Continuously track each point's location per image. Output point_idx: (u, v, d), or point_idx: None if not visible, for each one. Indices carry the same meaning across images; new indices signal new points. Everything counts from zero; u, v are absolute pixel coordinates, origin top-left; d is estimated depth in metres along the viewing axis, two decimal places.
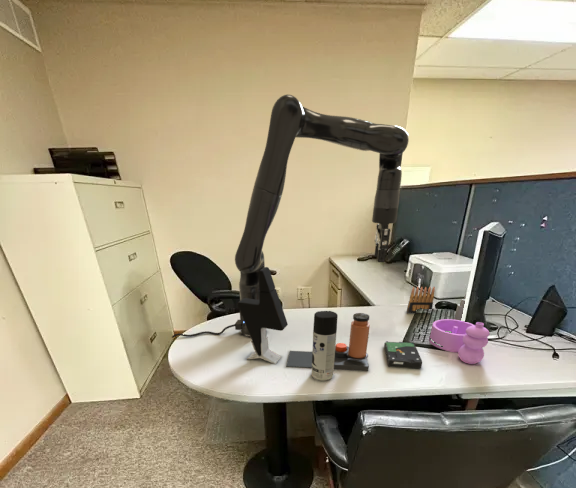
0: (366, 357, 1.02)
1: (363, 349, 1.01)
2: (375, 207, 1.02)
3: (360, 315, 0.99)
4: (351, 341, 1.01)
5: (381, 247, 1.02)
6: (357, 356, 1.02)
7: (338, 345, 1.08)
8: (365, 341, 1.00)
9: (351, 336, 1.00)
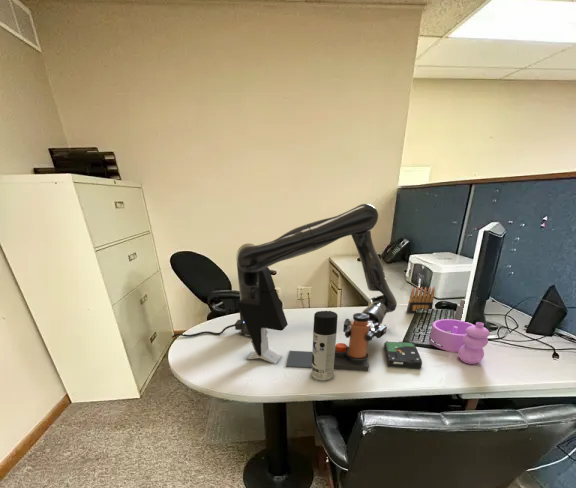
0: (366, 357, 1.02)
1: (363, 349, 1.01)
2: (376, 310, 1.10)
3: (360, 315, 0.99)
4: (351, 341, 1.01)
5: (380, 331, 1.00)
6: (357, 356, 1.02)
7: (338, 345, 1.08)
8: (365, 341, 1.00)
9: (351, 336, 1.00)
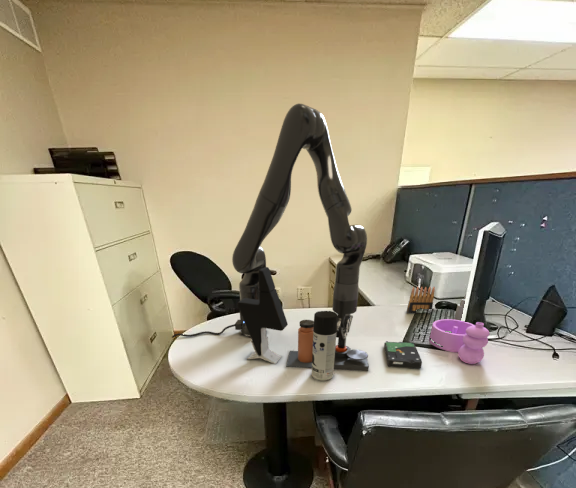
0: (366, 357, 1.02)
1: (310, 354, 1.06)
2: (333, 296, 1.00)
3: (306, 321, 1.03)
4: (299, 346, 1.06)
5: (337, 337, 1.04)
6: (305, 361, 1.07)
7: (338, 347, 1.08)
8: (311, 346, 1.05)
9: (298, 342, 1.05)
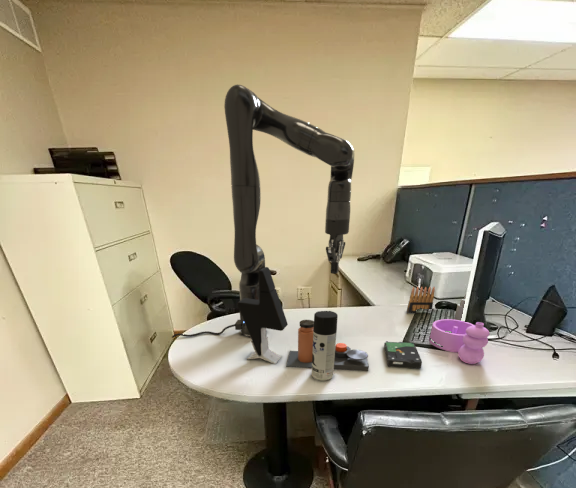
0: (366, 357, 1.02)
1: (310, 354, 1.06)
2: None
3: (306, 321, 1.03)
4: (299, 346, 1.06)
5: (329, 260, 1.07)
6: (305, 361, 1.07)
7: (338, 345, 1.08)
8: (311, 346, 1.05)
9: (298, 342, 1.05)
